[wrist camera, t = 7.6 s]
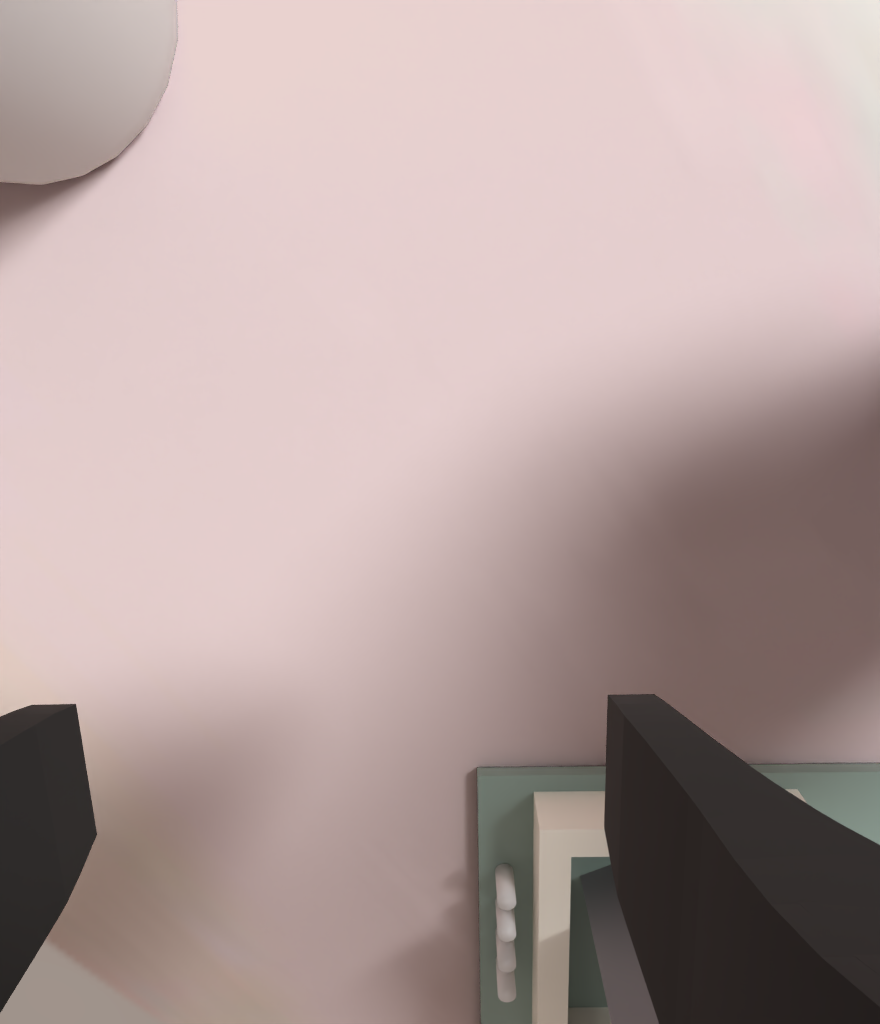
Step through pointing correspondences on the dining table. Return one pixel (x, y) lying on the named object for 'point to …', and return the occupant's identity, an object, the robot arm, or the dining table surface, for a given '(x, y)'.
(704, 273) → the dining table surface
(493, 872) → the board
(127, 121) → the cup
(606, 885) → the plug
